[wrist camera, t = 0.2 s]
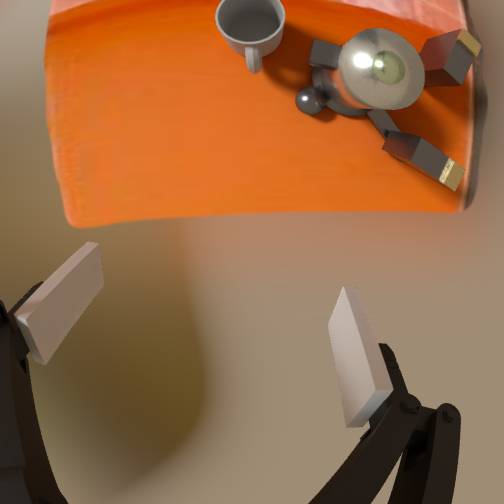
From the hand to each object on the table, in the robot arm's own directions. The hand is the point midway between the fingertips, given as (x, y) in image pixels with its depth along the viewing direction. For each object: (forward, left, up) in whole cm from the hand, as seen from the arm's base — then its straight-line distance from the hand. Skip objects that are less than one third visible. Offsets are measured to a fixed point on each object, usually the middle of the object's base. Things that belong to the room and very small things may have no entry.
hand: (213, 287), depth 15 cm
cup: (-18, -3, -28) cm, 33 cm away
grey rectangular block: (-23, +20, -28) cm, 41 cm away
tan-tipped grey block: (-9, +20, -28) cm, 35 cm away
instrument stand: (-16, +11, -28) cm, 34 cm away
